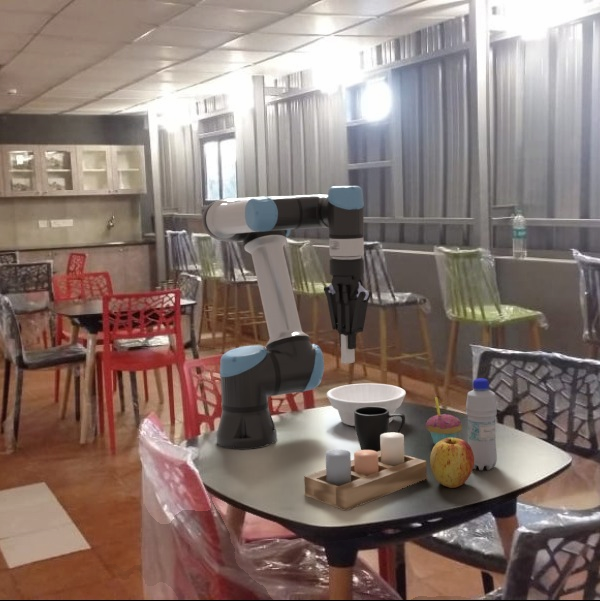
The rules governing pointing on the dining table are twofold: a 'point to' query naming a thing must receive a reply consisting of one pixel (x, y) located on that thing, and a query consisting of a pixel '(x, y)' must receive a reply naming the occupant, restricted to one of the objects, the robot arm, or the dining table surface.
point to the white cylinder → (392, 448)
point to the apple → (452, 462)
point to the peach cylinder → (366, 462)
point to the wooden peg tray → (365, 483)
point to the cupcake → (443, 425)
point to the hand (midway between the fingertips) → (348, 362)
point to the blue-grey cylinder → (338, 467)
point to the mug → (373, 426)
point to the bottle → (482, 424)
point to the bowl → (364, 399)
